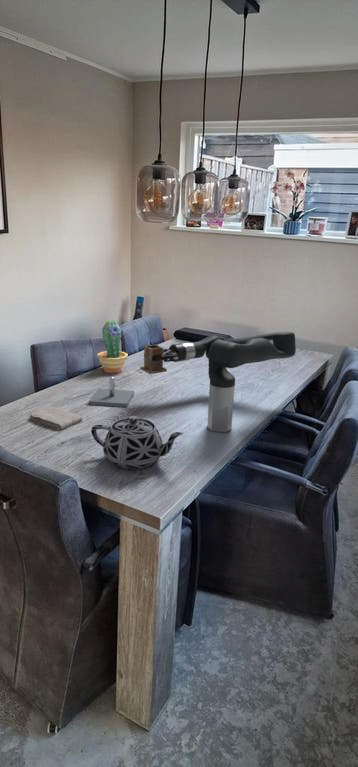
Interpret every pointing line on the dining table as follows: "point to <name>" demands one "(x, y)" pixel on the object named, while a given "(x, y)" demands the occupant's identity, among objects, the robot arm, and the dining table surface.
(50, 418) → the washcloth
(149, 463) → the teapot
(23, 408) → the dining table surface
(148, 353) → the flanged sleeve
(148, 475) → the dining table surface
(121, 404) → the post plate
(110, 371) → the potted cactus
